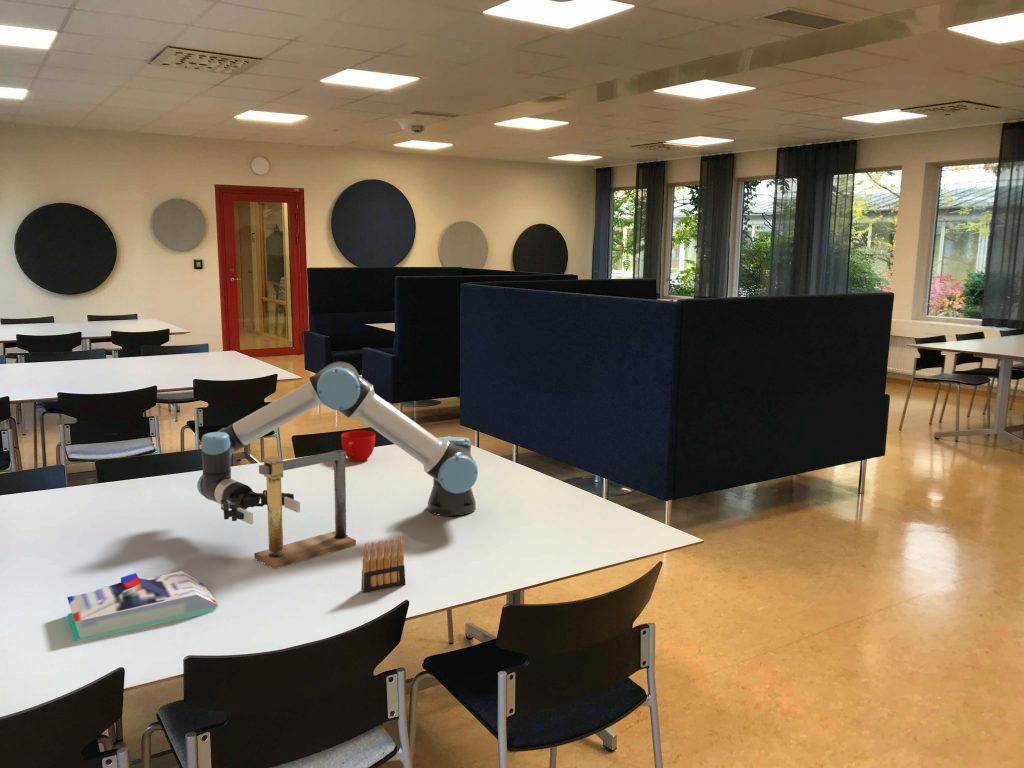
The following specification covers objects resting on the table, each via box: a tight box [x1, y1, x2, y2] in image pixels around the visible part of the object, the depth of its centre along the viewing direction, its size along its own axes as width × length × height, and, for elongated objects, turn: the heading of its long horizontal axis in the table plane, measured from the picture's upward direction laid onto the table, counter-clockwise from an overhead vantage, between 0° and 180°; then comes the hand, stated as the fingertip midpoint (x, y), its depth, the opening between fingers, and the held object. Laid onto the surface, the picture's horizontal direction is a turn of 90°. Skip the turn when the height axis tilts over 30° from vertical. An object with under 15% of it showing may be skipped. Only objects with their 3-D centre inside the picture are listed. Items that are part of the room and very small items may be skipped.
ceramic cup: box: [340, 430, 376, 462], centre depth 315 cm, size 13×17×10 cm
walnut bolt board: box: [253, 530, 357, 570], centre depth 221 cm, size 25×10×2 cm, turn 136°
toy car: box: [66, 570, 219, 643], centre depth 182 cm, size 17×30×9 cm, turn 124°
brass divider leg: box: [263, 455, 284, 553], centre depth 212 cm, size 4×4×25 cm
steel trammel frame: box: [258, 449, 347, 538], centre depth 218 cm, size 25×3×24 cm, turn 136°
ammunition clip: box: [360, 536, 406, 594], centre depth 197 cm, size 11×2×12 cm, turn 120°
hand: (275, 513), depth 211 cm, fingers open, 13 cm apart
